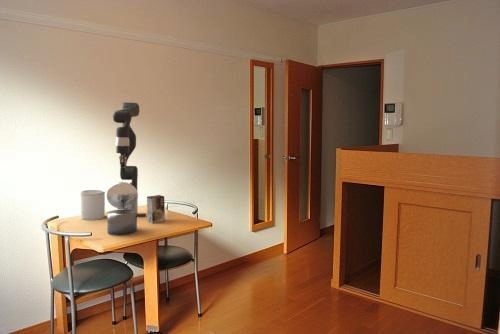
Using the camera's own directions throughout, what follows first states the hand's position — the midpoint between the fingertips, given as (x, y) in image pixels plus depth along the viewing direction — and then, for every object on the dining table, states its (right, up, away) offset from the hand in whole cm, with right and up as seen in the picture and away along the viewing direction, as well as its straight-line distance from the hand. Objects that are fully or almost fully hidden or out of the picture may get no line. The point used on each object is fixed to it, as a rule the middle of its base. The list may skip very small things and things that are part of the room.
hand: (123, 173), depth 234 cm
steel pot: (+6, -33, -10) cm, 35 cm away
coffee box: (+16, -30, +13) cm, 37 cm away
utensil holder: (-26, -29, +20) cm, 44 cm away
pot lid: (+2, -13, -8) cm, 16 cm away
